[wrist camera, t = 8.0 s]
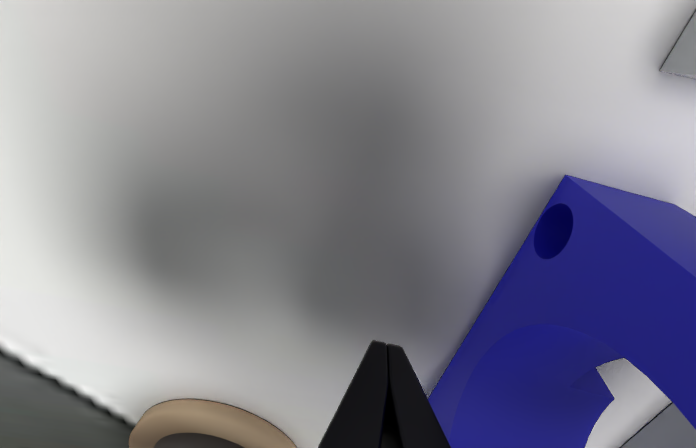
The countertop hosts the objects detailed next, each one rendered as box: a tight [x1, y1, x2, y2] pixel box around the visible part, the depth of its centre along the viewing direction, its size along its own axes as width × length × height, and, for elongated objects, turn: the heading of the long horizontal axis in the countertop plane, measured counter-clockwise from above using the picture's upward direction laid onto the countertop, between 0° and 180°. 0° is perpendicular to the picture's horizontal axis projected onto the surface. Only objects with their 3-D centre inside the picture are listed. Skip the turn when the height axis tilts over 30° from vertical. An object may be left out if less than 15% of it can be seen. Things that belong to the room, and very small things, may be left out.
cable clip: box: [428, 175, 696, 448], centre depth 9 cm, size 12×4×6 cm, turn 167°
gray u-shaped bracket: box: [621, 12, 696, 448], centre depth 10 cm, size 19×8×3 cm, turn 169°
